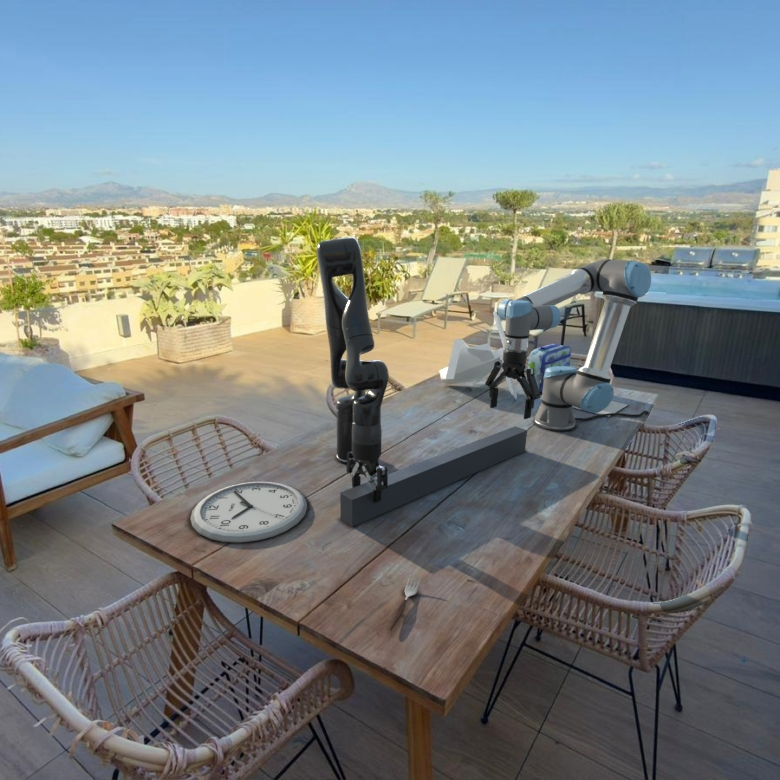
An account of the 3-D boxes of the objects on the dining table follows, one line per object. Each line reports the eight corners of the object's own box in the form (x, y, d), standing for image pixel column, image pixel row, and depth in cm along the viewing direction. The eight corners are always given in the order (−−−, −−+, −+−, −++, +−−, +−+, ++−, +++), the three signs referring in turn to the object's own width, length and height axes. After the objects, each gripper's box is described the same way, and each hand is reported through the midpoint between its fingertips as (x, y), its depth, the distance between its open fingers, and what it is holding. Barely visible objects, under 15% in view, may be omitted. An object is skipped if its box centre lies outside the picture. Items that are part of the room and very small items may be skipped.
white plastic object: (461, 429, 252) (437, 405, 227) (444, 352, 274) (420, 323, 250) (535, 404, 240) (518, 377, 215) (510, 326, 262) (492, 293, 237)
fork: (383, 631, 98) (383, 622, 98) (409, 580, 113) (410, 572, 112) (396, 635, 98) (396, 626, 97) (421, 583, 112) (421, 575, 111)
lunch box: (542, 396, 239) (547, 351, 232) (522, 391, 246) (526, 347, 240) (570, 385, 256) (575, 343, 250) (550, 380, 263) (554, 339, 257)
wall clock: (302, 534, 126) (174, 538, 123) (303, 540, 126) (175, 544, 124) (310, 477, 154) (206, 479, 152) (310, 482, 155) (206, 484, 152)
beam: (513, 446, 183) (515, 426, 181) (525, 451, 180) (527, 430, 178) (340, 518, 136) (340, 492, 134) (352, 527, 133) (352, 499, 130)
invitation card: (608, 416, 214) (573, 407, 224) (608, 416, 214) (573, 408, 224) (628, 404, 229) (594, 396, 238) (628, 405, 229) (594, 397, 238)
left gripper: (338, 433, 135) (338, 490, 140) (372, 450, 125) (372, 511, 130) (361, 427, 140) (361, 482, 145) (396, 443, 130) (395, 501, 134)
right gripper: (477, 344, 173) (473, 405, 179) (542, 359, 155) (535, 425, 162) (491, 341, 178) (487, 400, 184) (556, 355, 160) (549, 420, 166)
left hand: (366, 495), depth 137 cm, fingers open, 8 cm apart
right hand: (509, 412), depth 173 cm, fingers open, 13 cm apart
